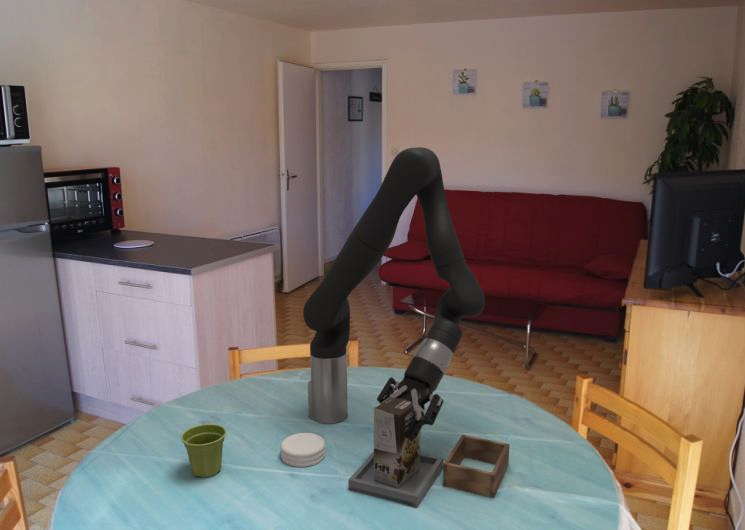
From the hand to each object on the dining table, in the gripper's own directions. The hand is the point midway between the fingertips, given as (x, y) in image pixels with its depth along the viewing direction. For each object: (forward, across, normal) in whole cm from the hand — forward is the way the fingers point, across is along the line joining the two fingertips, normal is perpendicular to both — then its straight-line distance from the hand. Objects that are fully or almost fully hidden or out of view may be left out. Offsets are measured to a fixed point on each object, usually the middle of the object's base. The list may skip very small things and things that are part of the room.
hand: (393, 431), depth 126 cm
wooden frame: (-2, +11, +18) cm, 21 cm away
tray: (+7, 0, +9) cm, 11 cm away
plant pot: (+26, -32, -10) cm, 42 cm away
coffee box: (+6, 0, +8) cm, 11 cm away
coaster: (+13, -22, +4) cm, 25 cm away
